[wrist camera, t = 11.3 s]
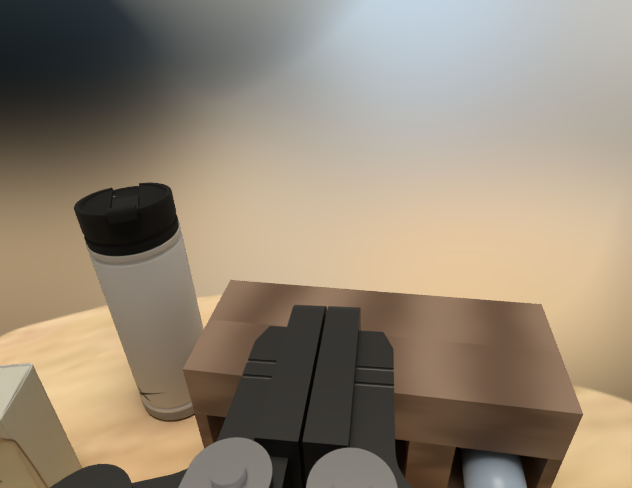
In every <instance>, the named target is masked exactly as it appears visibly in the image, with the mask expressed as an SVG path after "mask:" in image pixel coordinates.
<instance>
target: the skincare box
mask: <svg viewBox="0 0 632 488" xmlns="http://www.w3.org/2000/svg"><path fill="white" fill-rule="evenodd" d="M80 469H82V467H81V465H80V463H79V460H78V458H77V456H76V454H75V452H74V450H73V448H72V446H71V444H70V442H69V440H68V438H67V435H66V433H65V431H64V429H63V427H62V425H61V423H60V421H59V419H58V416H57V415H56V412H55V410H54V408H53V406H52V404H51V402H50V400H49V398H48V396H47V394H46V392H45V390H44V387H43V385H42V383H41V381H40V379H39V377H38V375H37V373H36V370H35V368H34V366H33V364H31V363H27V364H15V365H4V366H0V488H49V487H51V486H53V485H54V484H56V483H57V482H59V481H60V480H62V479H64V478H65V477H67V476H68V475H70V474H72V473H74V472H75V471H78V470H80Z"/></svg>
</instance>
